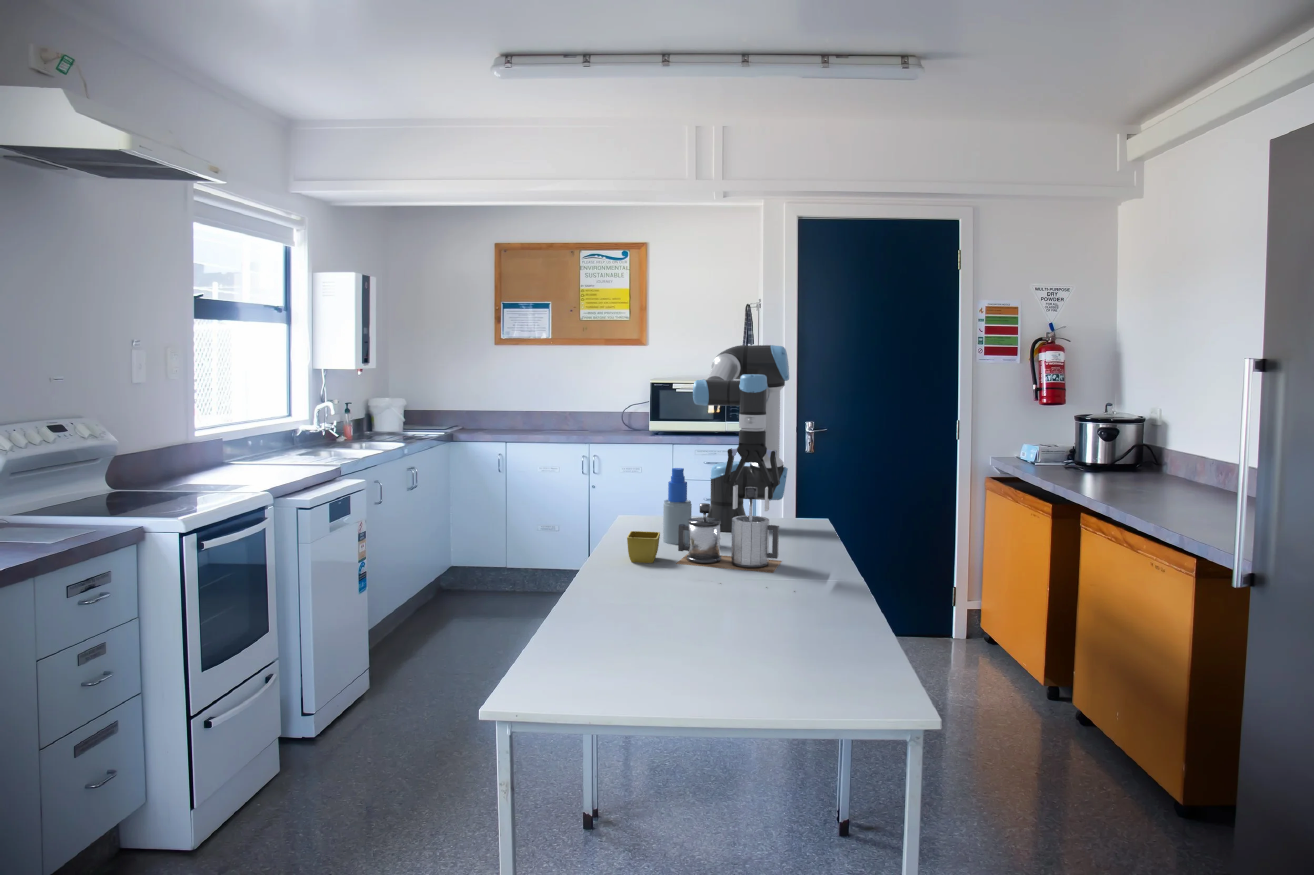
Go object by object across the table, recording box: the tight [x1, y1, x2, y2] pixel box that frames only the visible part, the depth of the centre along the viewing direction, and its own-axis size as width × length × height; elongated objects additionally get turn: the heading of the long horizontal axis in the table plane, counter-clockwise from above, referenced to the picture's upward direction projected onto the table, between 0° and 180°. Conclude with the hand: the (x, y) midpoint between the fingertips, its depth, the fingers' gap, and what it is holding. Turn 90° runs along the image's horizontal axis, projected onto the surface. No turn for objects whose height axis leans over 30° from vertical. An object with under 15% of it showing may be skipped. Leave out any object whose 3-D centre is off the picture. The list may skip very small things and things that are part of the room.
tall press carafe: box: [730, 515, 780, 569], centre depth 229 cm, size 10×13×13 cm
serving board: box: [675, 552, 783, 574], centre depth 232 cm, size 14×28×2 cm, turn 71°
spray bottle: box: [662, 467, 692, 546], centre depth 257 cm, size 9×9×25 cm
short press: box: [677, 502, 721, 564], centre depth 234 cm, size 10×13×16 cm
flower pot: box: [626, 530, 661, 564], centre depth 234 cm, size 9×9×9 cm
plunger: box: [745, 487, 757, 522], centre depth 229 cm, size 7×7×19 cm
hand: (750, 509), depth 228 cm, fingers open, 8 cm apart
